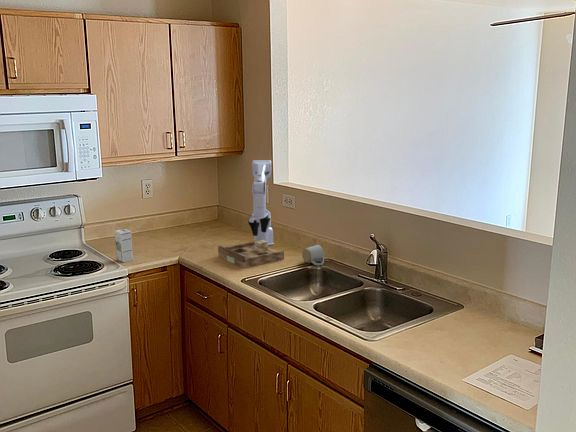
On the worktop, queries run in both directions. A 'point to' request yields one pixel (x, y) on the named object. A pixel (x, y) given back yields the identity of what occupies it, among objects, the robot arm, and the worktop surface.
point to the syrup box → (123, 245)
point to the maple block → (261, 246)
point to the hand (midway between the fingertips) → (259, 233)
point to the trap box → (248, 255)
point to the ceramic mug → (313, 255)
